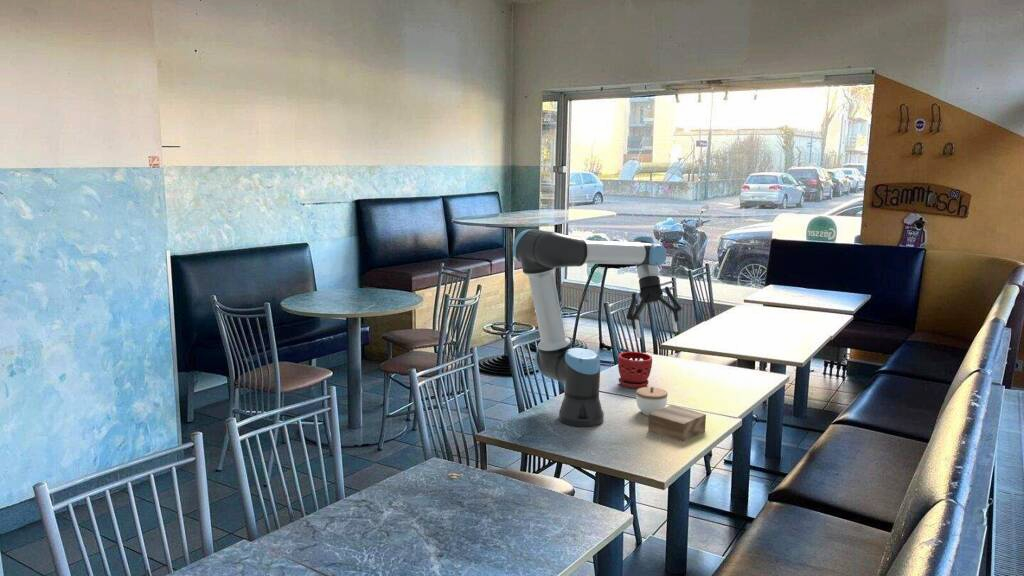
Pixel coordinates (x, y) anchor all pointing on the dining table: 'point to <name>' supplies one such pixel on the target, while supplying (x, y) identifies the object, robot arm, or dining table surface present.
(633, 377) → the plant pot
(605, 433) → the dining table surface
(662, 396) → the lidded jar
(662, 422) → the walnut block
